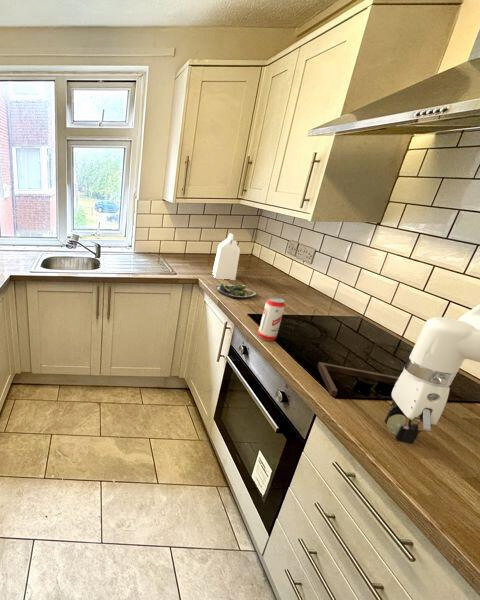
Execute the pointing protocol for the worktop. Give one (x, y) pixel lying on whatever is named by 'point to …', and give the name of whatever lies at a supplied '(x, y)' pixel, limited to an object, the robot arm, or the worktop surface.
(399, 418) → the pale green round lump
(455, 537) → the worktop surface
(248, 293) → the salad plate
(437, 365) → the robot arm
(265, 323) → the beer can
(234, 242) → the milk
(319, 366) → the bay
